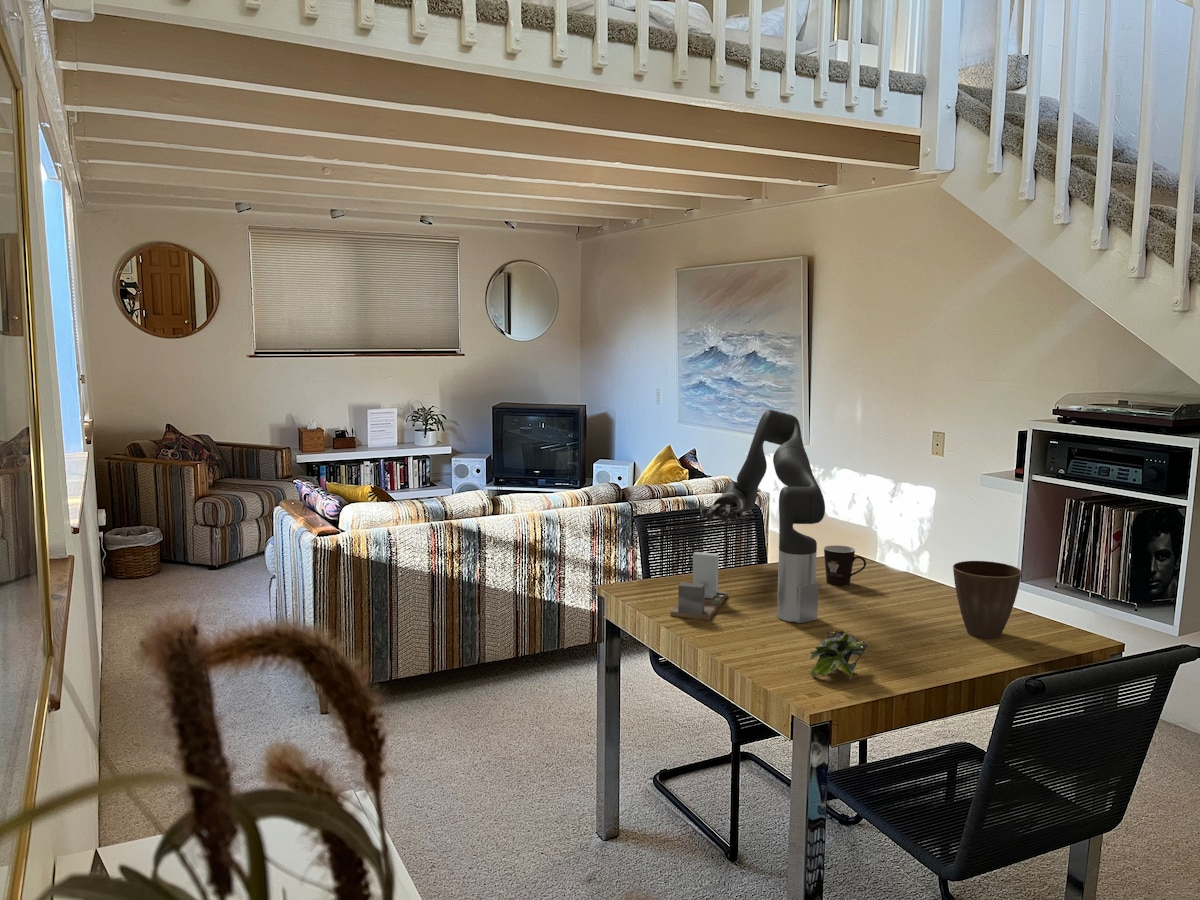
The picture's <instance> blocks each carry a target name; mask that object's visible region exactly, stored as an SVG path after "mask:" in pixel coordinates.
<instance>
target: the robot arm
mask: <svg viewBox="0 0 1200 900" xmlns="http://www.w3.org/2000/svg"><path fill="white" fill-rule="evenodd" d="M765 442H766V443H767V442H768V443H771V444H775V445H779V446H778V448H777V449H776V450H775V451H774V453H773V458H772V462H773V467H774V471H775V475H776V476H777V478H778V479H779V481H780V482H781V483H782V484H784V485H785V486H783V487H782V488H781V490H780V491H779V495H778V518H779V520H778V521H779V523H778V524H779V525H778V526H779V527H778V528H779V531H778V533H779V534H778V565H777V566H778V567H777V568H778V569H777V574H778V575H777V597H776V598H777V601H776V602H777V603H776V604H777V605H776V606H777V609H776V617H778V619H780V620H783V621H785V622H790V623H791V622H792V623H796V624H802V623H809V622H811V621H817V620H818V612H819V611H818V608H819V607H818V605H819V604H818V603H819V583H818V581H816V577H817V575H816V574H817V553H818V552H817V550H818V549H817V548H818V545H817V541H816V540H815V538H813V537H812V536H808V535H805V534H803V533H801V532H799V531H797V530H796V529H795V528H794V525H815V524H818V523H820V522H822V521H823V519H824V517H825V513H826V503H825V499H824V495H823V491H822V489H821V487H820V486H819V484H818V481H817V479H816V478H815V476H814V474H813V471H812V467H811V463H810V459H809V457H808V454H807V452H806V450H805V446H804V443H803V438H802V431H801V424H800V421H799V419H798V418H797V417H796V416H794V415H793V414H788V413H786V412H782V411H778V410H773V409H768V410H766V411H764V413H762V415H761V417H760V419H759V421H758V423H757V427H756V429H755V432H754V435H753V439H752V440H751V443H750V444H751V445H750V447H749V450H748V454H747V456H746V459H745V461H744V463H743V465H742V467H741V469H740V470H739V473H738V474H737V476H736V481H731V482H728V483H727V484H726V485H725V486H724V489H722V494H721V495H720V496H719V497H717V498H716V500H715V501H714V503H713V504H712V505H710V506H709V507H708V506H706V505H704V504H702V505H701V504H700V515H701V516H702V518H705V519H707V521H712V520H713V519H714V520H715V519H718V520H719V521H721V522H722V523H723V522H725V523H726V522H731V521H736V520H740V519H743V518H746V517H747V512H750V511H752V509H753V508H754V507H755V504H756V501H757V498H758V497H757V496H758V489H759V486H760V484H761V482H762V480H763V479H764V476H765V475H766V472H767V467H768V463H767V459H766V455H765V452H764V443H765Z"/></svg>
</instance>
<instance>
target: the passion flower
mask: <svg viewBox="0 0 1200 900" xmlns="http://www.w3.org/2000/svg"><path fill="white" fill-rule="evenodd" d="M820 643H821V644H820ZM820 643H817V645H816V646H814V648H815V650H810V651H809V653H810V654H811V656H810V661H812V659H814V658H817V657H818V658H817V661H816V663H815V665H814V667H812V669H811V671H810V673H811V677H812V679H813V678H814V677H817V676H819V675H820V676H822V677H826V676H828V675H830V674H832V673H833V672H835V671H836V670H837V669H839V668H841V670H842V672H843V673H845V674H846V675H847V676H849V678H848V679H849V680H848V683H851V679H852V677H853V672H854V670H855V668H856V666H857V663H858V662H859V660H860V658H861V656H863V654H864V653H865V651H867V649H868V647H869V645H868V641H866V642H865V640H861V641H858V637H856V636H855V635H850V634H849V633H848V632H846V633H845V631H844V630H838V629H833V631H831V630H826V638H824V640H822V641H821V640H820ZM852 655H856V656H858V657H857V658H856V660H855V661H854V662H853V663H849V661H850V658H851V657H852Z"/></svg>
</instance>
